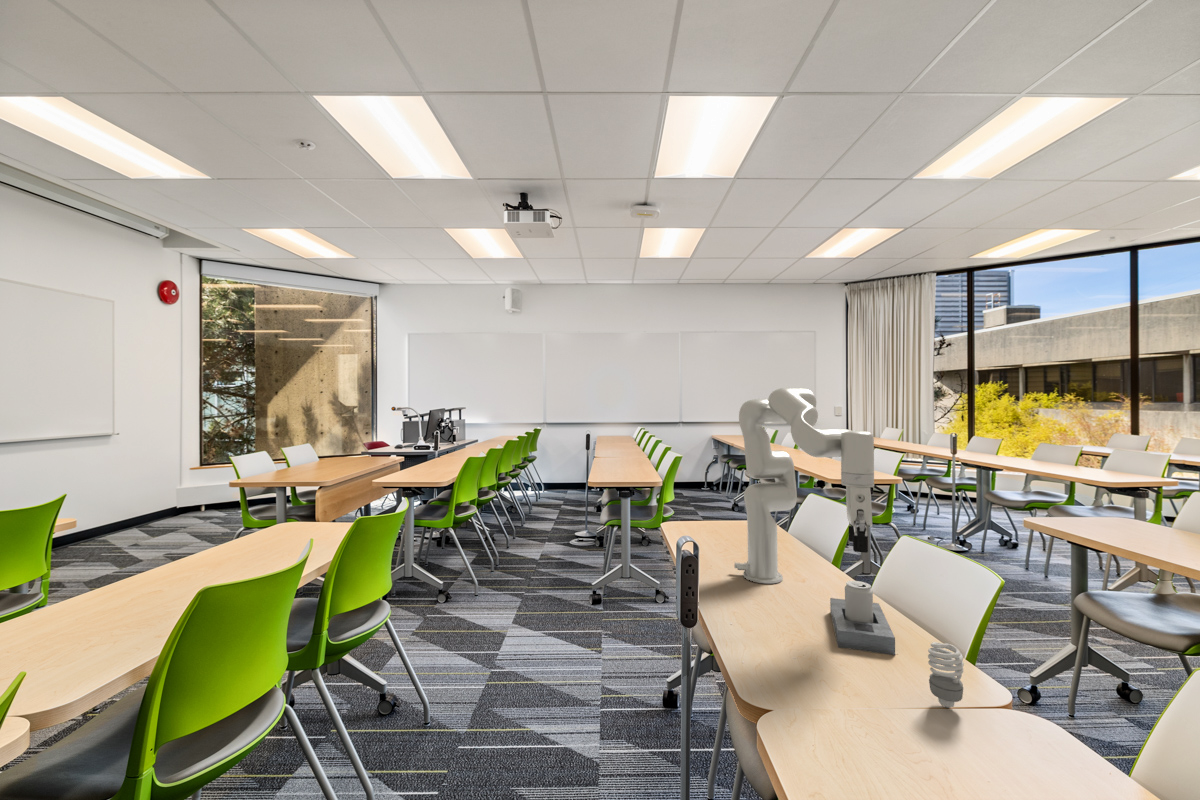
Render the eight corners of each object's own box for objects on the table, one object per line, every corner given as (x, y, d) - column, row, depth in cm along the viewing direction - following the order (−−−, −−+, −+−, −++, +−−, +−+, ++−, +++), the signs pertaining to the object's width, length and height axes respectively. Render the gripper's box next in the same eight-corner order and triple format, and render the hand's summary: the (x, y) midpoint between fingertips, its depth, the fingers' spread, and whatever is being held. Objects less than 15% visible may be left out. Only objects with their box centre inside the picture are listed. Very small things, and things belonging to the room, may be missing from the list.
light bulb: (966, 707, 97) (965, 643, 97) (962, 720, 93) (960, 653, 93) (931, 695, 100) (930, 634, 101) (925, 708, 96) (924, 644, 97)
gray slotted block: (837, 647, 121) (837, 629, 121) (830, 612, 142) (830, 597, 142) (895, 655, 117) (895, 637, 117) (878, 618, 138) (878, 602, 138)
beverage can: (862, 638, 125) (861, 589, 126) (839, 629, 131) (839, 582, 131) (879, 633, 128) (878, 585, 129) (855, 624, 134) (855, 578, 134)
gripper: (879, 485, 121) (880, 557, 121) (868, 475, 137) (869, 539, 137) (844, 483, 123) (845, 554, 123) (838, 474, 140) (838, 537, 139)
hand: (857, 546), depth 130 cm, fingers open, 9 cm apart
